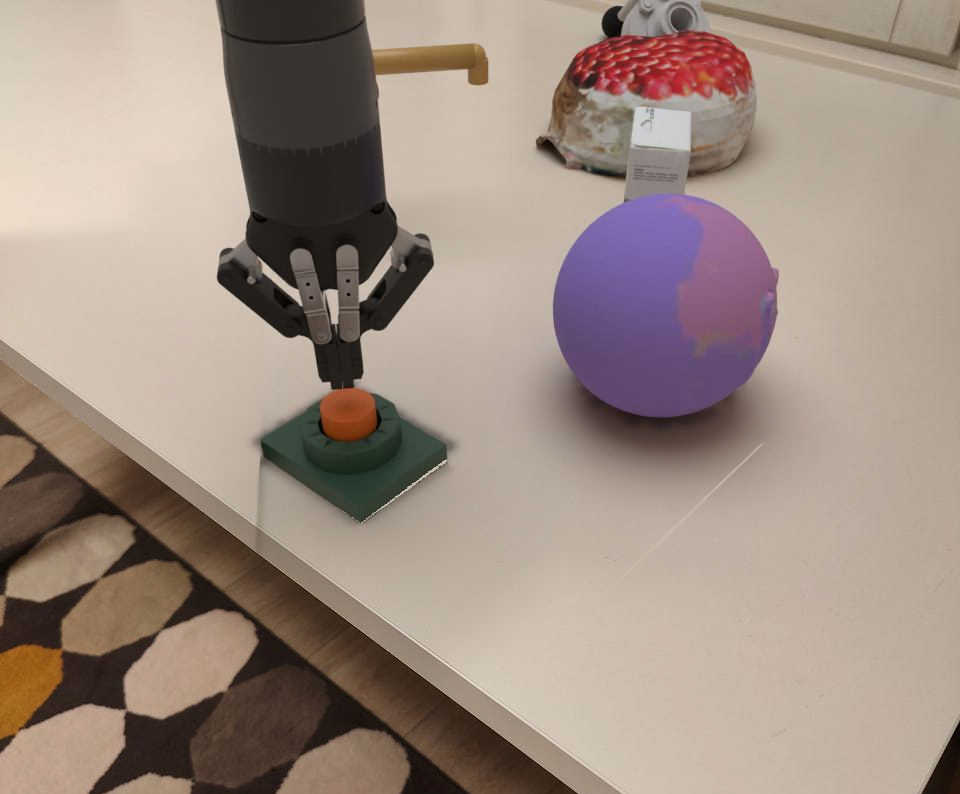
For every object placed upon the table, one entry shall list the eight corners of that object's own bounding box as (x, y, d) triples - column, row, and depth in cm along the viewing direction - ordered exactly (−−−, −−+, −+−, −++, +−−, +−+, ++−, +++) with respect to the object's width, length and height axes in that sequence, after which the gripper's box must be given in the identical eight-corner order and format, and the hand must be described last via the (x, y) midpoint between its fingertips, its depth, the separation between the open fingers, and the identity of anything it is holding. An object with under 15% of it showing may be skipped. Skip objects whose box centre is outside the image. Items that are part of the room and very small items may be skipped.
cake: (653, 79, 116) (662, -9, 110) (794, 150, 101) (815, 52, 94) (491, 119, 108) (491, 26, 101) (618, 203, 92) (628, 100, 86)
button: (311, 426, 63) (308, 405, 62) (352, 401, 65) (349, 380, 64) (348, 449, 61) (345, 429, 60) (388, 423, 63) (386, 402, 62)
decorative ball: (752, 476, 63) (799, 279, 53) (531, 444, 66) (536, 251, 56) (758, 350, 74) (799, 165, 64) (568, 327, 77) (578, 147, 66)
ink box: (673, 281, 82) (691, 148, 73) (615, 277, 82) (627, 145, 74) (675, 234, 88) (692, 106, 80) (621, 230, 88) (633, 103, 80)
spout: (269, 103, 80) (260, 49, 77) (270, 88, 82) (261, 35, 79) (491, 88, 81) (490, 34, 78) (485, 74, 84) (485, 21, 81)
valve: (657, 124, 130) (645, 14, 129) (727, 63, 110) (712, -67, 110) (587, 127, 127) (573, 15, 127) (645, 66, 108) (630, -67, 108)
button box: (263, 457, 65) (254, 418, 63) (350, 403, 70) (344, 365, 67) (361, 525, 60) (355, 485, 58) (447, 463, 65) (445, 423, 62)
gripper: (167, 152, 46) (235, 428, 57) (440, 133, 47) (452, 408, 59) (182, 93, 51) (241, 357, 63) (426, 78, 52) (439, 339, 64)
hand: (343, 381), depth 61 cm, fingers closed
